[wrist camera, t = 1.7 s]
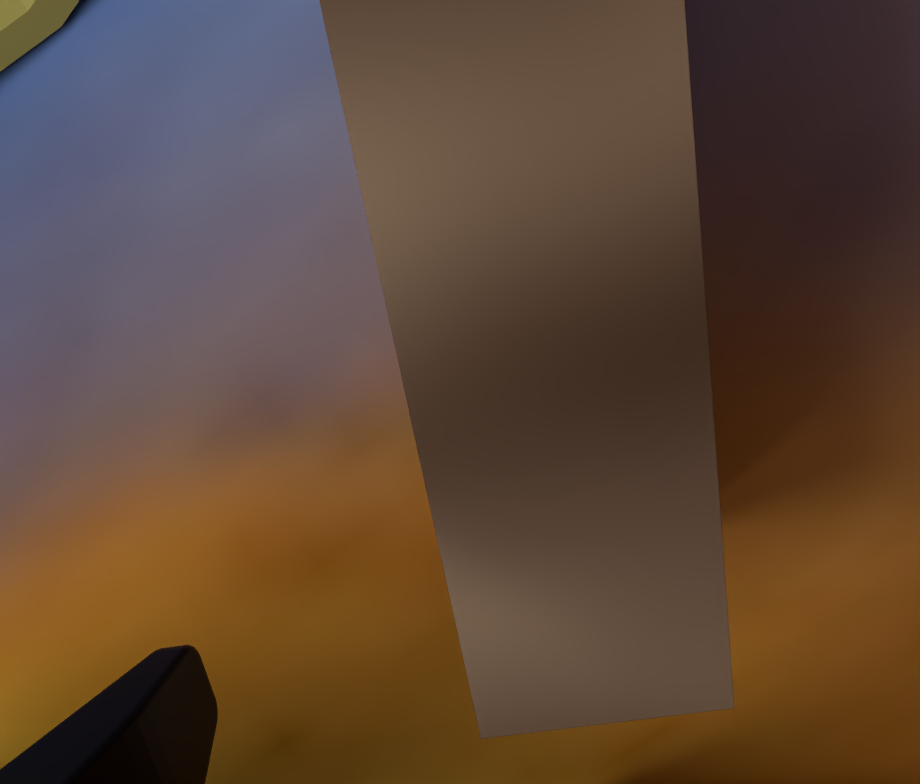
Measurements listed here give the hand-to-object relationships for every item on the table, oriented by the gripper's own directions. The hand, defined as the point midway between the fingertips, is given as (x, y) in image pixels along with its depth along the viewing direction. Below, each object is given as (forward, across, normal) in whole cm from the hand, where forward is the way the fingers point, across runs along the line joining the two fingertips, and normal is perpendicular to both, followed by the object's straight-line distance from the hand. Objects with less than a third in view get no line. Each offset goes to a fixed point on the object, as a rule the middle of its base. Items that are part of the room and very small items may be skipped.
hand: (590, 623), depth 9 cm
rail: (+8, 0, -2) cm, 8 cm away
